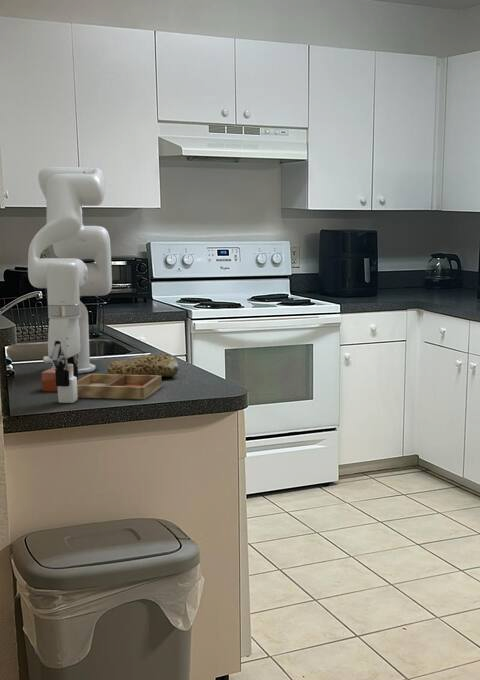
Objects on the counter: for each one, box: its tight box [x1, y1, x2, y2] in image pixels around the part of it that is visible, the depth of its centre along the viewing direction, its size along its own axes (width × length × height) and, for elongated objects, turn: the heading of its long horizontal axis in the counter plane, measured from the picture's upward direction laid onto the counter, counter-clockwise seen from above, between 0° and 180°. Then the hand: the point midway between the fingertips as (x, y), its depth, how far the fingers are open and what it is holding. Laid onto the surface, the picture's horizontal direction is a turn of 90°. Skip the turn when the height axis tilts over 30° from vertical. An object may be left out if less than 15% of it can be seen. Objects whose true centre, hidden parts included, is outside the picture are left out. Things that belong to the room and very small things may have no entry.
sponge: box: [107, 353, 180, 377], centre depth 254 cm, size 13×8×20 cm
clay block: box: [41, 368, 58, 392], centre depth 239 cm, size 5×5×5 cm
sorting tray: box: [77, 373, 163, 400], centre depth 237 cm, size 20×16×3 cm
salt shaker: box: [57, 363, 79, 404], centre depth 225 cm, size 4×4×10 cm
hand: (67, 382), depth 225 cm, fingers open, 5 cm apart
